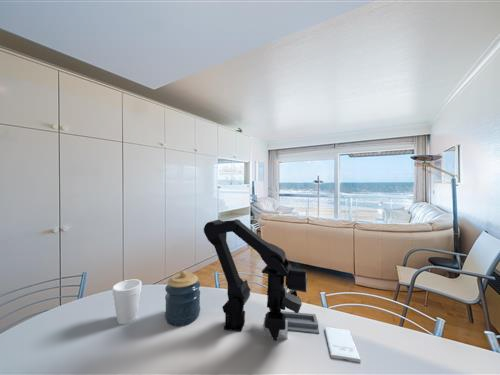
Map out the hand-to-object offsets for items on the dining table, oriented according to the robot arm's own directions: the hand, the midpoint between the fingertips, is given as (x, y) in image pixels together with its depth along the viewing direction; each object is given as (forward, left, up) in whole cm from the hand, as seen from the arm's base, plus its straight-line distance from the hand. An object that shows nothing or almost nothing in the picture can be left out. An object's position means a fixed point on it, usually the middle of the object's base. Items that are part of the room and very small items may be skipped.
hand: (275, 331), depth 71 cm
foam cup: (-56, 0, -1) cm, 56 cm away
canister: (-36, +5, -1) cm, 36 cm away
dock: (+8, +8, -1) cm, 11 cm away
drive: (0, 0, -1) cm, 1 cm away
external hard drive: (+21, -1, -2) cm, 21 cm away
